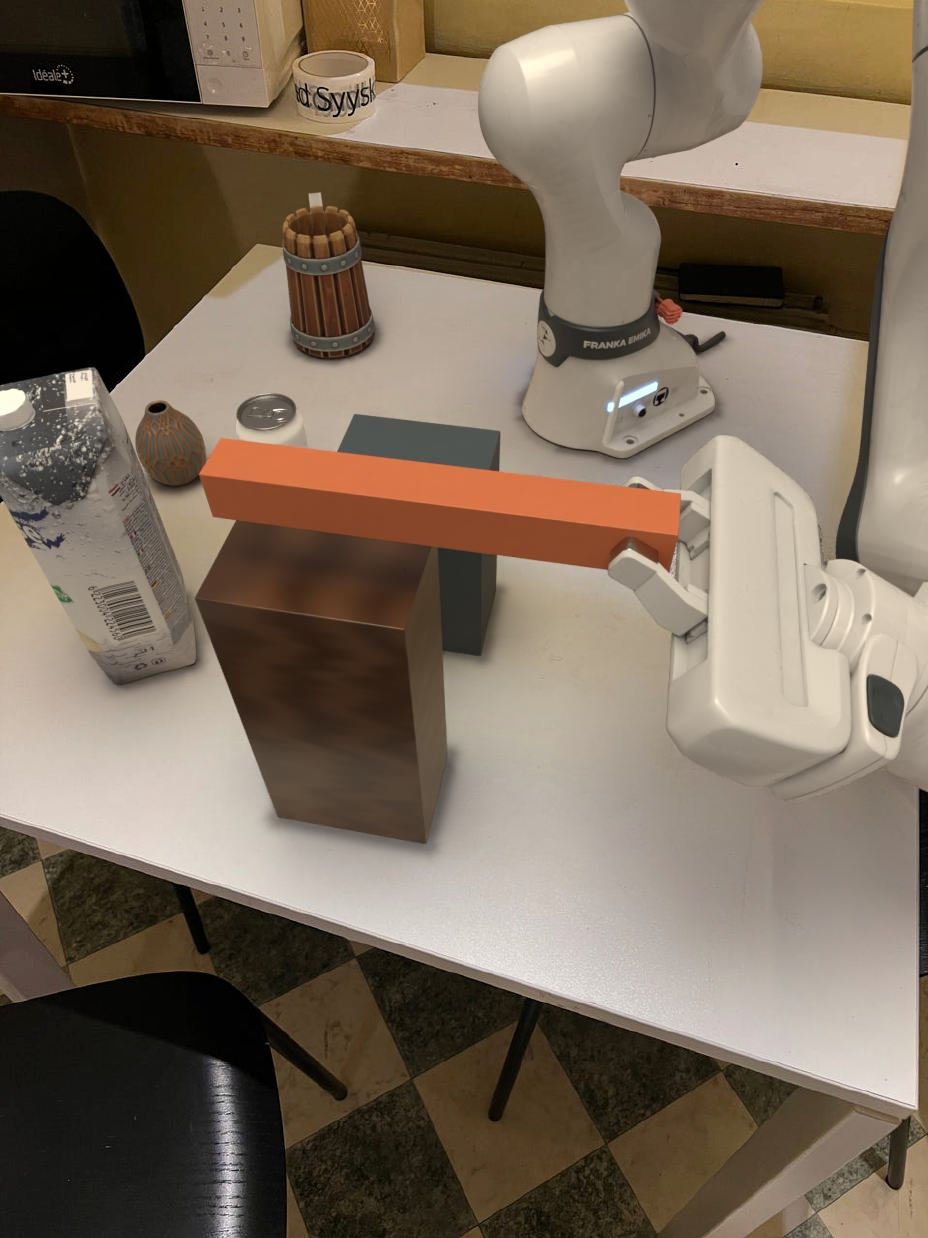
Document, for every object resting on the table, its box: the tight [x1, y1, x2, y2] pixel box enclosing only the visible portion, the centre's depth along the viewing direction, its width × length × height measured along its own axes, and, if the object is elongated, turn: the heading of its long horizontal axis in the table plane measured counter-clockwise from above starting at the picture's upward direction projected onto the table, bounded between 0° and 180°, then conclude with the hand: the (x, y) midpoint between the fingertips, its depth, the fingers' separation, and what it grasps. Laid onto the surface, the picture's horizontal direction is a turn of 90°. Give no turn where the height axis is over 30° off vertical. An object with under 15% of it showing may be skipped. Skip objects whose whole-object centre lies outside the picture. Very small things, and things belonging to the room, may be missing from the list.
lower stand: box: [336, 413, 501, 657], centre depth 74 cm, size 12×8×19 cm, turn 79°
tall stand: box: [194, 520, 448, 844], centre depth 59 cm, size 12×8×26 cm, turn 79°
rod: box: [198, 437, 681, 573], centre depth 44 cm, size 24×3×3 cm, turn 79°
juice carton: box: [0, 366, 197, 685], centre depth 69 cm, size 9×10×27 cm
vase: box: [134, 399, 207, 487], centre depth 91 cm, size 7×7×9 cm
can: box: [235, 392, 309, 448], centre depth 86 cm, size 6×6×12 cm
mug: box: [281, 192, 375, 359], centre depth 107 cm, size 16×11×15 cm
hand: (619, 522), depth 42 cm, fingers closed on rod, 3 cm apart
